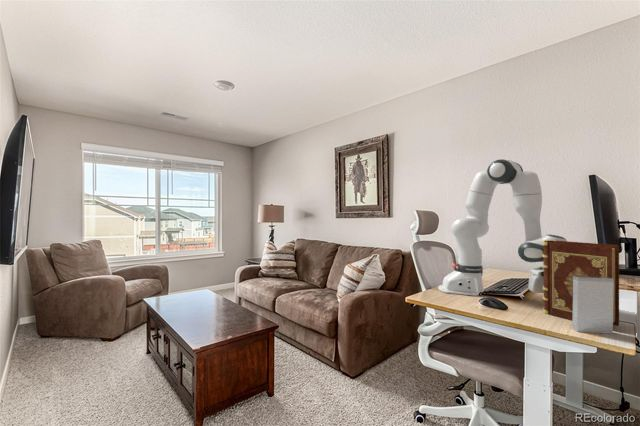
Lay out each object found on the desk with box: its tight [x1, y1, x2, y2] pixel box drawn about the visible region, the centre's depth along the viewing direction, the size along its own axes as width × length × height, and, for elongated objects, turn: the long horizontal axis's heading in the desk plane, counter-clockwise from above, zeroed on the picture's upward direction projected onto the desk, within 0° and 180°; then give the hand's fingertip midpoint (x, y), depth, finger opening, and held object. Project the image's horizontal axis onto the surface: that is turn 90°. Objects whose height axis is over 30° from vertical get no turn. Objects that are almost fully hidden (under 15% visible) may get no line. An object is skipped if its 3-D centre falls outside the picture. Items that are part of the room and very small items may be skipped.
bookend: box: [571, 276, 614, 335], centre depth 106 cm, size 11×2×19 cm, turn 81°
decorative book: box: [541, 240, 620, 327], centre depth 118 cm, size 22×8×30 cm, turn 31°
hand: (555, 303), depth 132 cm, fingers closed
